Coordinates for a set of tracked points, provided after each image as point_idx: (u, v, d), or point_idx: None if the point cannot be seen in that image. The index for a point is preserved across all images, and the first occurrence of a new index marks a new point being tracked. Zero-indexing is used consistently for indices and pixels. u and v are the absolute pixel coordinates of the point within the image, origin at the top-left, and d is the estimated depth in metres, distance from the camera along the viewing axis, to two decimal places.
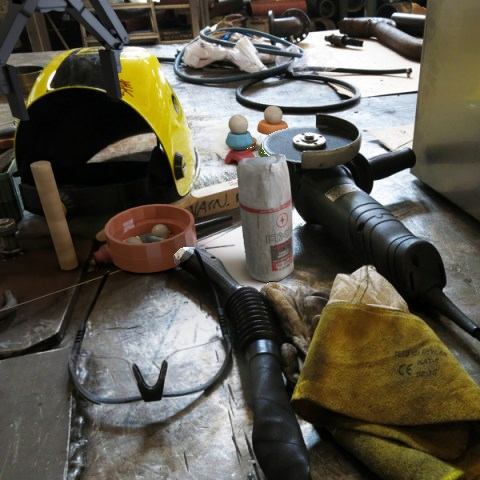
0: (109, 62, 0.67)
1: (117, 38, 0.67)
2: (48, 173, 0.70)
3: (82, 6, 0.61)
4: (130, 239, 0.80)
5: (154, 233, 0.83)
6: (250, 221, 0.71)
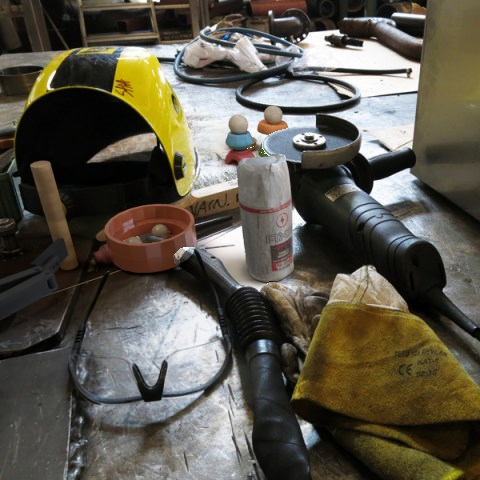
0: None
1: None
2: (48, 173, 0.70)
3: None
4: (130, 239, 0.80)
5: (154, 233, 0.83)
6: (250, 221, 0.71)
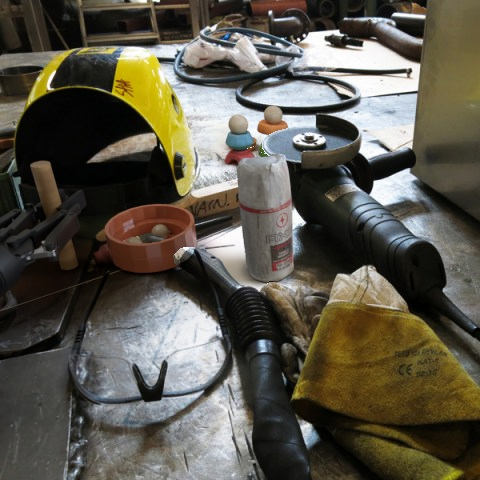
0: None
1: None
2: (48, 173, 0.70)
3: None
4: (130, 239, 0.80)
5: (154, 233, 0.83)
6: (250, 221, 0.71)
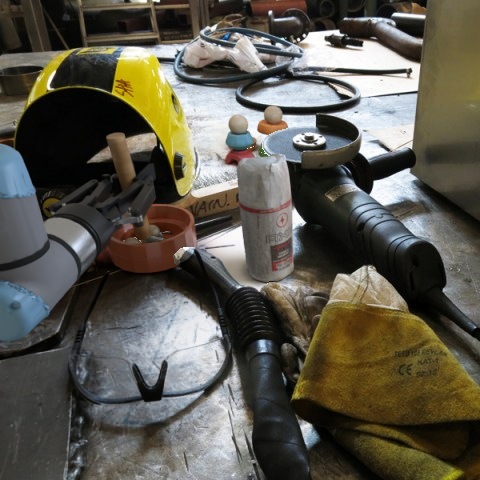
0: None
1: None
2: (122, 145, 0.72)
3: None
4: (127, 241, 0.80)
5: None
6: (250, 221, 0.71)
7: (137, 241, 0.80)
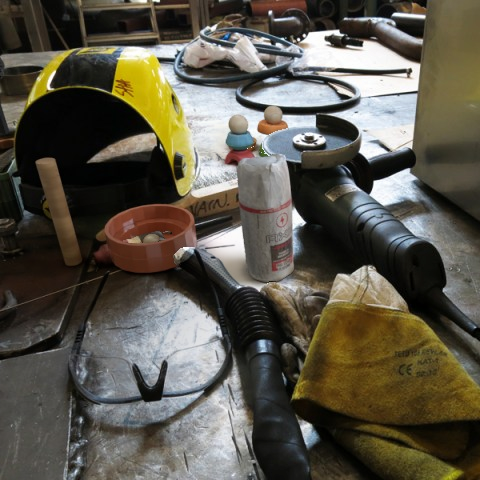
0: None
1: None
2: (51, 170, 0.71)
3: None
4: None
5: None
6: (250, 221, 0.71)
7: None
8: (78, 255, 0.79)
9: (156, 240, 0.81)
